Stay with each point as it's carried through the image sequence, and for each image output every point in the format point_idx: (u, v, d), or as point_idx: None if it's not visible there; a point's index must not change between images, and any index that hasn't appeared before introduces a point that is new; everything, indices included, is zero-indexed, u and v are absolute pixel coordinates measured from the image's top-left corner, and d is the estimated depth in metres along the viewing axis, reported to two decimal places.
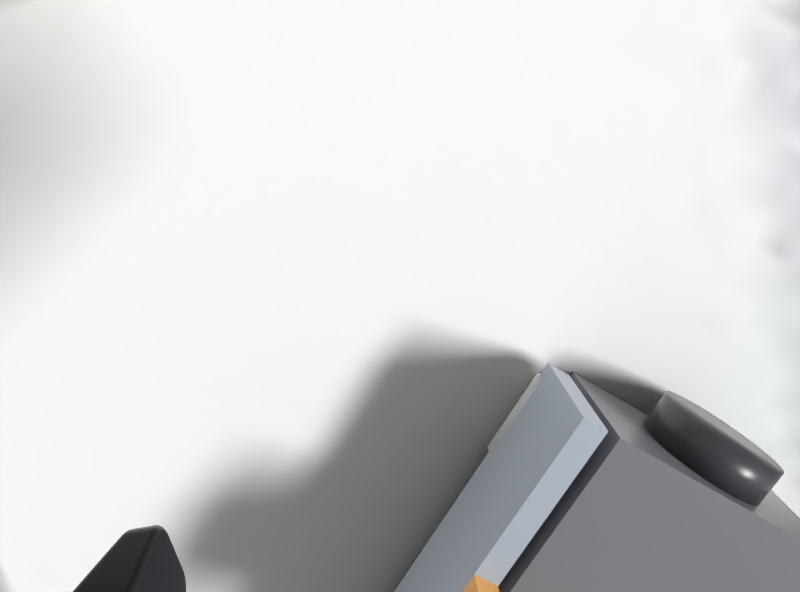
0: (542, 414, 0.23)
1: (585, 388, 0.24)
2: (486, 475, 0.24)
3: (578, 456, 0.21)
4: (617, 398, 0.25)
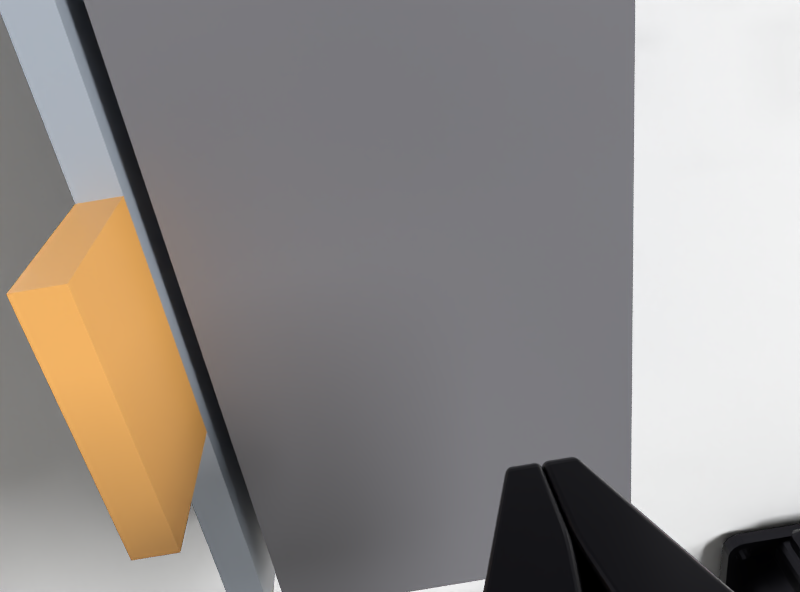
0: None
1: None
2: None
3: None
4: None
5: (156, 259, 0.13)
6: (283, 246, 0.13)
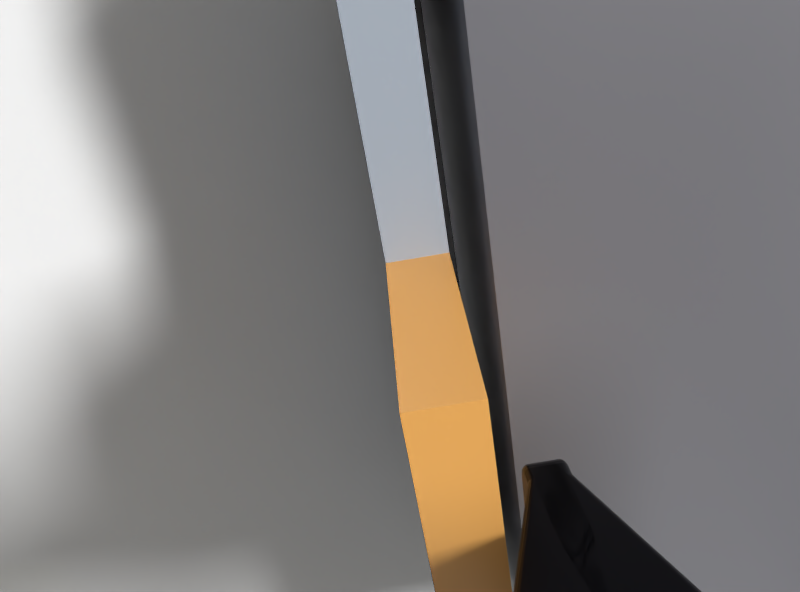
0: None
1: None
2: None
3: None
4: None
5: None
6: (643, 310, 0.10)
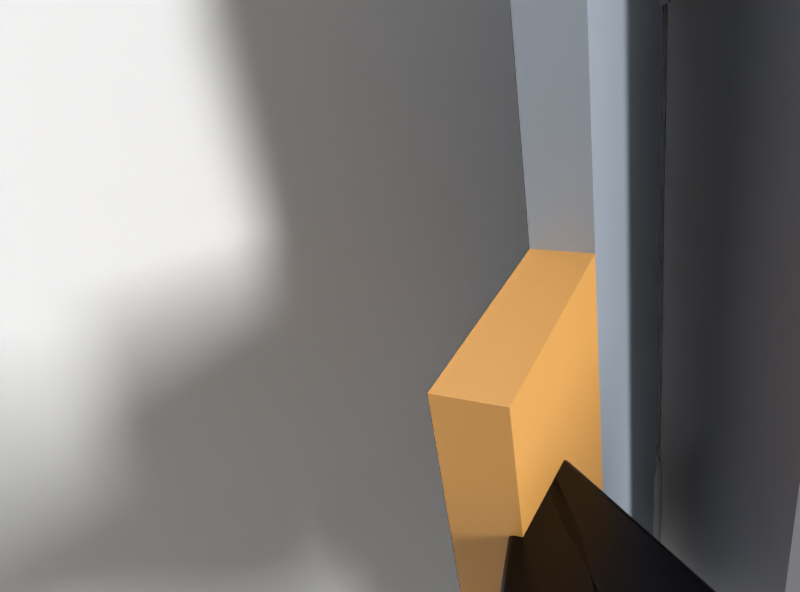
0: None
1: None
2: None
3: None
4: None
5: (608, 333, 0.10)
6: None
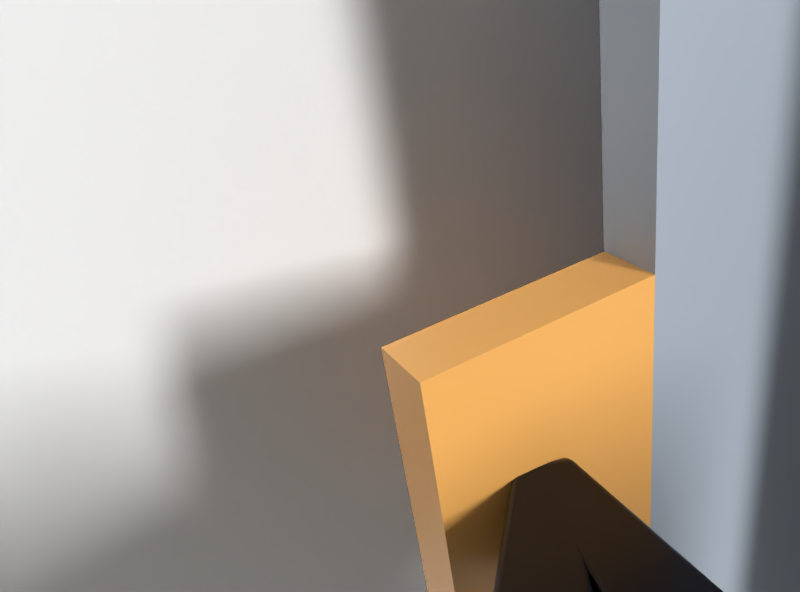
0: None
1: None
2: None
3: None
4: None
5: (685, 363, 0.09)
6: None
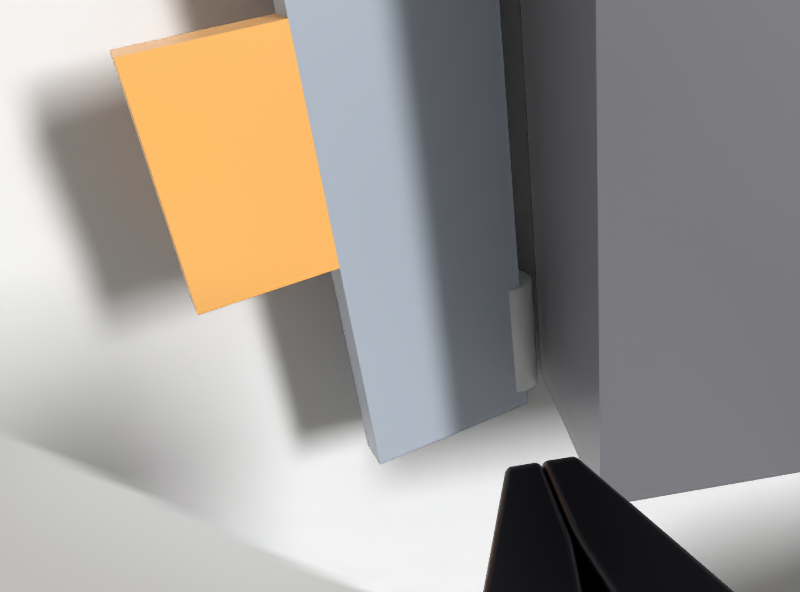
0: None
1: None
2: None
3: None
4: None
5: (331, 92, 0.14)
6: (718, 68, 0.12)
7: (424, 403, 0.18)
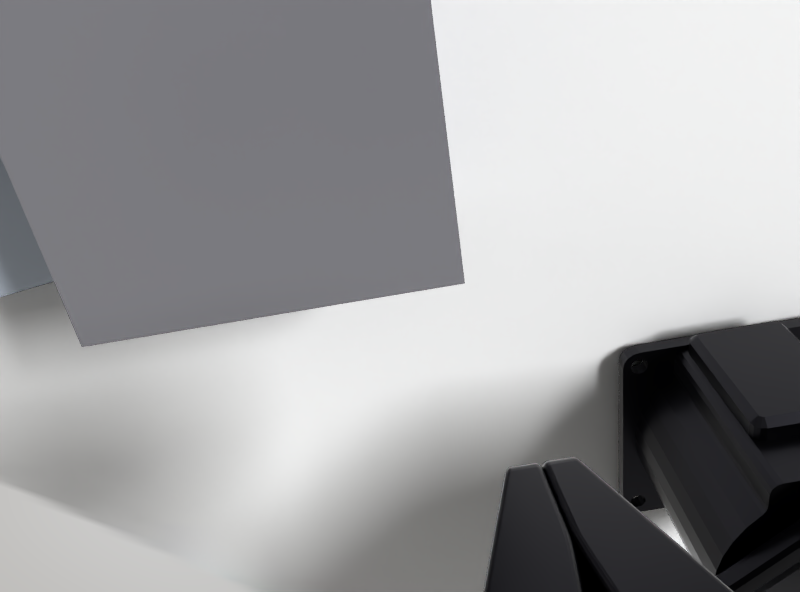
0: None
1: None
2: None
3: None
4: None
5: None
6: None
7: None
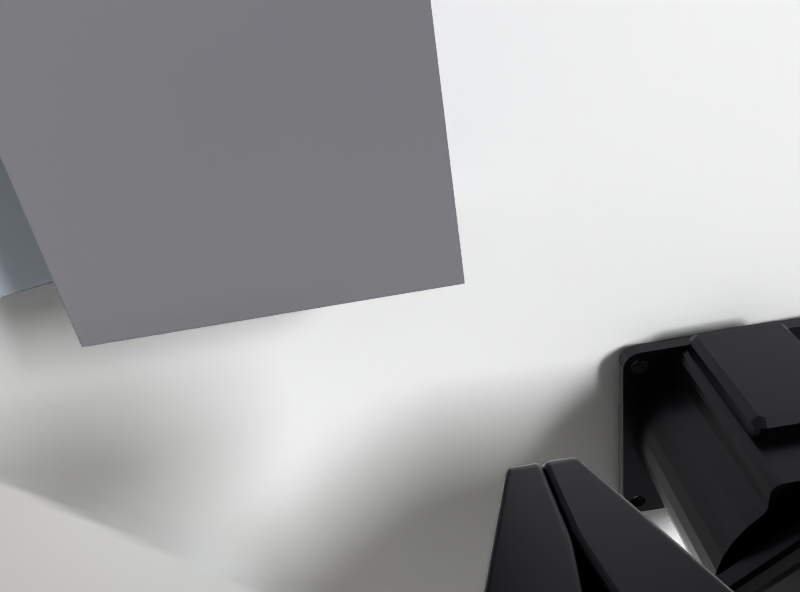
0: None
1: None
2: None
3: None
4: None
5: None
6: None
7: None
